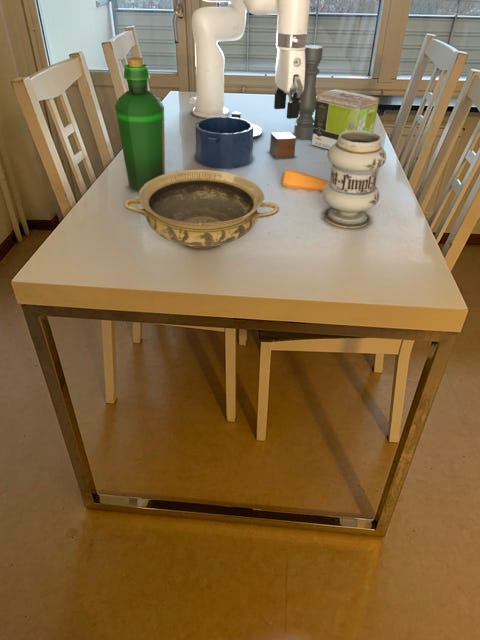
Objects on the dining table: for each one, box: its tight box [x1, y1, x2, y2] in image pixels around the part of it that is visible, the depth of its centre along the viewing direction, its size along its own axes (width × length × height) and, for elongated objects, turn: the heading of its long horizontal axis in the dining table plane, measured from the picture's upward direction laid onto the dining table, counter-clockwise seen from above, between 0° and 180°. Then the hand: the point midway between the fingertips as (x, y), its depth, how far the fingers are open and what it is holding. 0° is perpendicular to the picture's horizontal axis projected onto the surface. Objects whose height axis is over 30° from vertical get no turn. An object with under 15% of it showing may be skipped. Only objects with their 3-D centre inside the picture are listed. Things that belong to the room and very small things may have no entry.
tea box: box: [311, 88, 380, 150], centre depth 140 cm, size 15×10×15 cm, turn 47°
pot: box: [194, 116, 254, 169], centre depth 133 cm, size 16×21×9 cm
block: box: [269, 131, 297, 160], centre depth 137 cm, size 6×6×6 cm
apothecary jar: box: [322, 130, 387, 229], centre depth 102 cm, size 12×12×18 cm
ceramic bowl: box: [123, 169, 280, 249], centre depth 95 cm, size 30×24×10 cm
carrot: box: [280, 168, 330, 192], centre depth 119 cm, size 20×4×4 cm, turn 80°
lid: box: [231, 111, 263, 139], centre depth 151 cm, size 17×17×6 cm
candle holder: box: [293, 44, 324, 140], centre depth 145 cm, size 6×6×25 cm
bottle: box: [114, 56, 166, 193], centre depth 110 cm, size 11×11×28 cm
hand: (285, 113), depth 131 cm, fingers open, 9 cm apart
